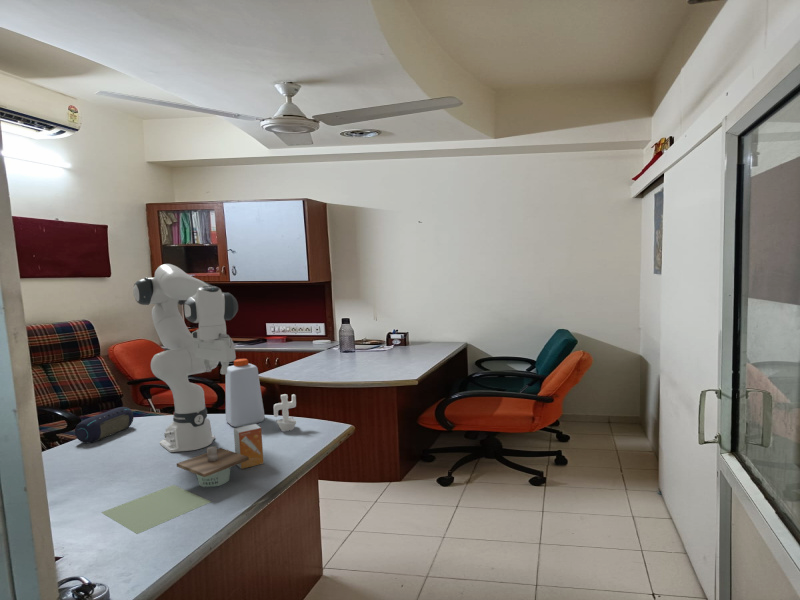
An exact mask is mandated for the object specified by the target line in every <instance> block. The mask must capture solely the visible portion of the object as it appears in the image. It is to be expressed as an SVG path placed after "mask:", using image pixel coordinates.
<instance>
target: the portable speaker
mask: <svg viewBox="0 0 800 600" xmlns="http://www.w3.org/2000/svg"><path fill="white" fill-rule="evenodd" d="M133 421H134V413H133V411H132V409H131V408H130V407H126V406H120V407H116V408H113V409H111V410H108V411H105V412H102V413H100V414H96V415H93V416H91V417H88V418H85V419H83V420H82V421H80V422H79V423H78V424H76V426H75V428H74V435H75V437H76V439H77V440H78V441H79V442H81V443H83V444H85V443H86V444H91V443H94V442H97V441H99V440H101V439H104V438H107V437H109V436H111V435H114V434H116V433H118V432H121V431H124V430H126V429H128V428H129V427H131V425H132V424H133Z"/></svg>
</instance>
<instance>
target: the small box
mask: <svg viewBox="0 0 800 600" xmlns="http://www.w3.org/2000/svg"><path fill="white" fill-rule="evenodd" d="M262 435H263V434H262V427H260V426H259V424H258V423H255V424H251V425H246V426H242V427H233V438H234V452H235V453H238V454H241V455H244V456H248V457H249V460H247V461H245V462H242V463H239V464H237V465H236V466H238V467H239V469H240V470H243V469H246V468H251V467H255V466H258V465H263V464H264V462H265V461H264V448H263V436H262Z"/></svg>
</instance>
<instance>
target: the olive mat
mask: <svg viewBox="0 0 800 600" xmlns="http://www.w3.org/2000/svg"><path fill="white" fill-rule="evenodd" d="M210 503H212V501H211V500H209V499H207V498H204V497H202V496H200V495H198V494H195V493H193V492H192V491H188V490H186V489H184V488H181V487H179V486H178V485H175V484H172V485H169V486H166V487H164V488H162V489H158V490H155V491H153V492H151V493H149V494H146V495H143V496H141V497H137V498H136V499H135V498H134V499H133V500H130V501H128V502H125V503H122V504H119V505H117V506H114V507H112V508H110V509H106V510H104V511H102V512H101V513H102V514H103V515H105V516H106V517H108V518H109V519H112V520H113V521H114V522H116V523H118V524H120V525H121V526H122V527H124V528H126V529H127V530H130V531H131V532H133V533H134V534H136V535H139V534H140V533H143V532H144V531H147V530H149V529H150V530H151V529H152V528H154V527H157V526H160V525H161V524H163V523H167V522H169V521H170V520H172V519H175V518H177V517H181V516H182V515H185V514H187V513H189V512H191V511H193V510H196V509H198V508H200V507H203V506H205V505H207V504H208V505H209V504H210Z"/></svg>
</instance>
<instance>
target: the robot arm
mask: <svg viewBox="0 0 800 600" xmlns="http://www.w3.org/2000/svg"><path fill="white" fill-rule="evenodd" d="M132 293H133V296H134V300H135V301H136V303H138V304H139V305H141V306H143V305H144V306H149V305H154V306H153V307H152V309H151V318H152V323H153V326H154V328H155V331H156V333H157V335H158V338H159V341H160V342H161V344H162V345H163V347H165V348H166V349H167V350H163V351H160V352H158V353H156V354H154V355H153V357H152V358H151V361H150V370H151V372H152V374H153V375H154V377H155V378H157V379H159V380H161V381H163V382H164V383H165V385H167V386H168V387H169V389H170V391H171V394H172V398H173V404H174V411H173V412H172V413H173V414H172V415H173V418H172V422H171V423H170V424H169V425H168V426H167V427H166V428H165V432H164V434H163V436H164V438H163V439H162V440H160V441H159V445H160V446H162V448H164V449H165V450H167V451H168V452H170V453H177V452H188V451H189V452H190V451H195V450H199V449H203V448H207V447H208V446H210V445H211V444H212V443H213V441H214V440H215V439H216V436H215V435H213V431H212V425H211V424H212V423H211V420H210V419H209V418H207V417H208V409H207V407H206V403H205V402H206V400H205V391H204V388H203V387H202V386H201V385H199V384H197V383H193V382H190V380H189V376H191V375H197V374H202V373H211V372H212V370H214V369H215V368H217V366H218V365H219V362H220V365H221V368H220V370H219V371H220V372H219V373H220V374H221V375H226V374H227V368H228V367H229V366H230V365H229V364H230V362H234V361H235V360H236V358H237V356H236V348H235V344H234V341H233V339H232V338H231V337H230V335H229V334H227V325H226V324H227V323H226V321H231V320H232V319H233V318H235V316H236V314H237V313H238V312H239V303H238V301H237V298H236V297H235V296H234V295H233V294H231V293H230V292H223V291H222V289H221V288H220V287H218V286H215V285H212V284H210V283H209V282H205V281H203V280H202V279H201V280H200V279H198V278H196V277H193V276H192V275H191V274H188V273H187V272H185V271H184V270H183V269H181V268H180V267H179V266H176V265H174V264H171V263H164V264H161V265H159V266H158V267H157V269H155V271H154V277H148V276H146V277H144V278H140V279H138V280H137V281H135V283H134V284H133V289H132ZM182 305H183V315H184V318H185V319H186V320H188V321H189V322H190V323H194V324H198V328H197V329H196V330H194V331H192V332H190V329H189V328H188V327H187V325H186V323H185V321H184V318H183V317H182V314H181V313H180V311H179V308H178V307H179V306H182Z"/></svg>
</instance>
